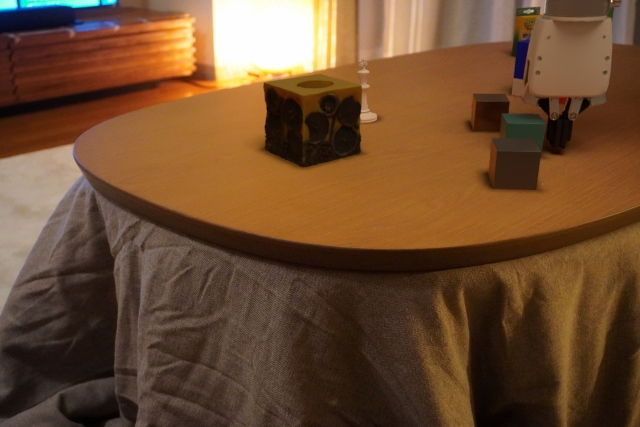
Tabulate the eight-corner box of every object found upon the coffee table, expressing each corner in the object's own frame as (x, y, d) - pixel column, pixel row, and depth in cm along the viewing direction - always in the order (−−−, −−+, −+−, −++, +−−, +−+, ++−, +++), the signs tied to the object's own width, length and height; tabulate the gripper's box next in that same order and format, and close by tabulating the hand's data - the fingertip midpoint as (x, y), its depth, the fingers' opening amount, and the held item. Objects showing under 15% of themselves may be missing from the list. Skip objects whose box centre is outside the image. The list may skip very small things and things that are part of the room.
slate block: (528, 176, 78) (533, 138, 76) (536, 191, 73) (541, 151, 71) (487, 175, 79) (491, 137, 77) (492, 190, 74) (497, 150, 72)
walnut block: (502, 124, 100) (505, 93, 98) (506, 133, 95) (510, 101, 93) (470, 123, 100) (472, 93, 98) (473, 132, 96) (476, 100, 94)
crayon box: (518, 58, 152) (523, 9, 147) (510, 56, 155) (515, 7, 150) (542, 56, 154) (548, 7, 150) (534, 54, 157) (540, 6, 152)
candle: (264, 151, 90) (259, 81, 85) (321, 138, 95) (319, 72, 91) (303, 170, 82) (300, 95, 78) (362, 154, 87) (363, 83, 83)
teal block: (534, 147, 89) (538, 113, 87) (541, 159, 84) (545, 123, 82) (498, 147, 89) (501, 113, 87) (503, 158, 85) (507, 123, 83)
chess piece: (383, 119, 104) (385, 58, 100) (363, 125, 101) (364, 63, 97) (361, 114, 107) (362, 55, 103) (342, 119, 104) (341, 59, 100)
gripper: (628, 2, 80) (605, 138, 88) (509, 4, 82) (497, 137, 90) (649, 8, 74) (622, 155, 81) (519, 10, 75) (505, 153, 83)
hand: (557, 145), depth 85 cm, fingers closed
